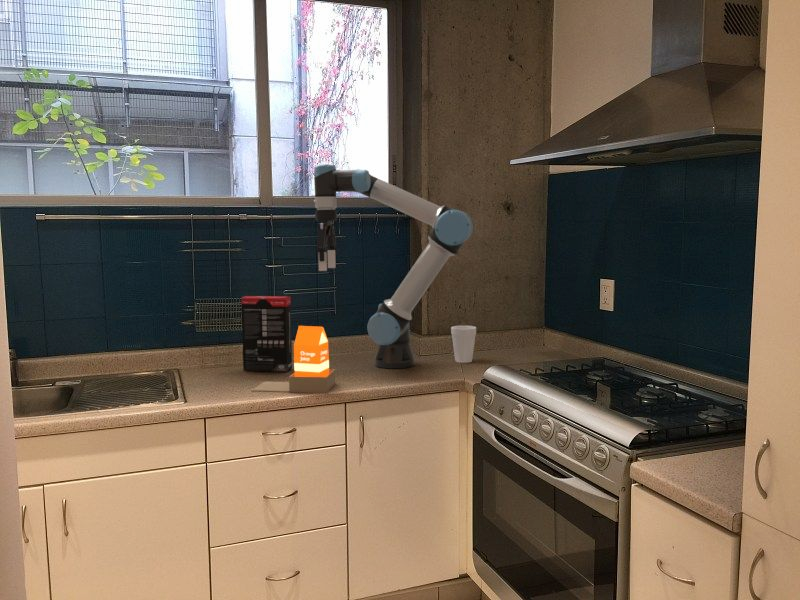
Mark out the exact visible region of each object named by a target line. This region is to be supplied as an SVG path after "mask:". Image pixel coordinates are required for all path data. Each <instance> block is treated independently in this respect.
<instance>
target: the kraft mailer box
mask: <svg viewBox="0 0 800 600" xmlns="http://www.w3.org/2000/svg"><path fill="white" fill-rule="evenodd" d="M336 383H337V381H336V369H335V368H334V369H331V368H329V375H328V376H327V377H295V371H294V372H293V373H292V374H291V375H289V376H288V381H263V382H261V383H260V384H259V385H257V386H256V387H254V388H253V389H251V392H259V391H273V392H272V393H311V394H312V393H313V394H314V393H315V394H316V393H317V394H320V393H322V394H327V393H329V392H330V390H332V389H333V388H334V386H335V385H336Z"/></svg>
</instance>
